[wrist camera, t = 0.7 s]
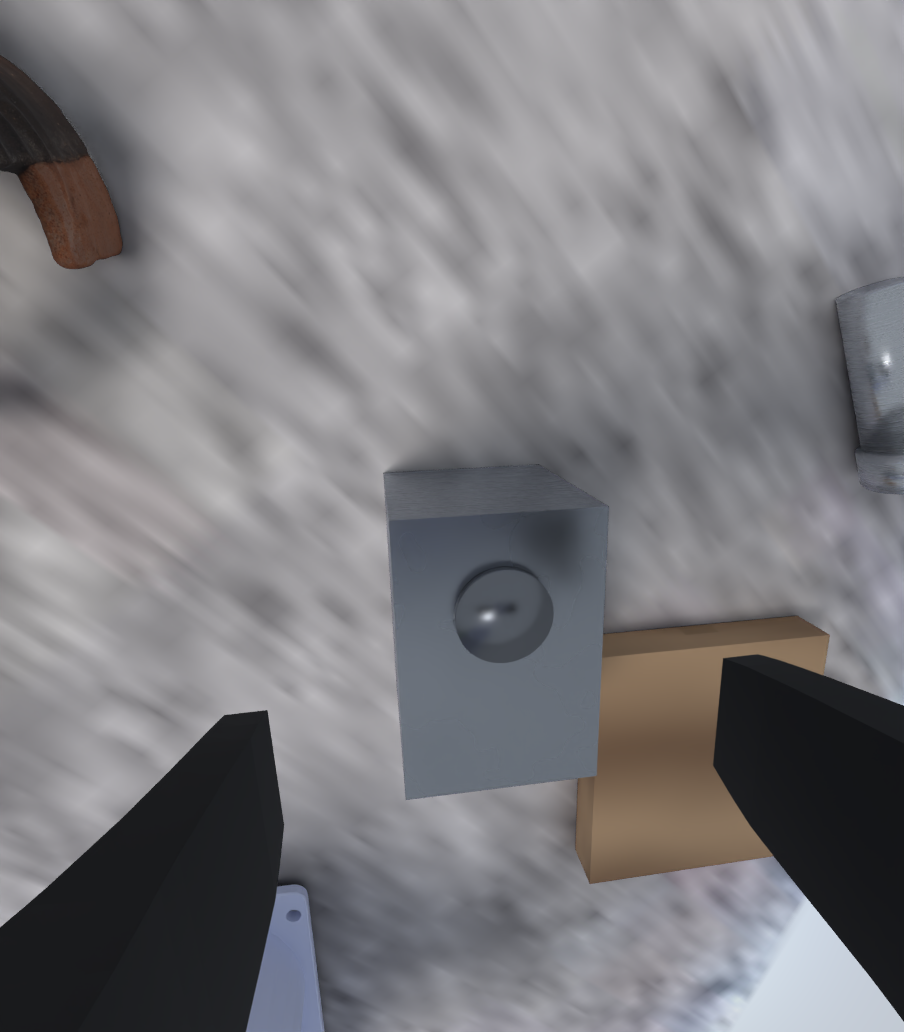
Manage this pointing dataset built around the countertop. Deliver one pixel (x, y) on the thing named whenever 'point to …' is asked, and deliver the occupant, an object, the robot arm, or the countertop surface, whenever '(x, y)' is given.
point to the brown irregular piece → (55, 173)
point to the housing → (495, 626)
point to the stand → (673, 747)
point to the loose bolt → (876, 379)
